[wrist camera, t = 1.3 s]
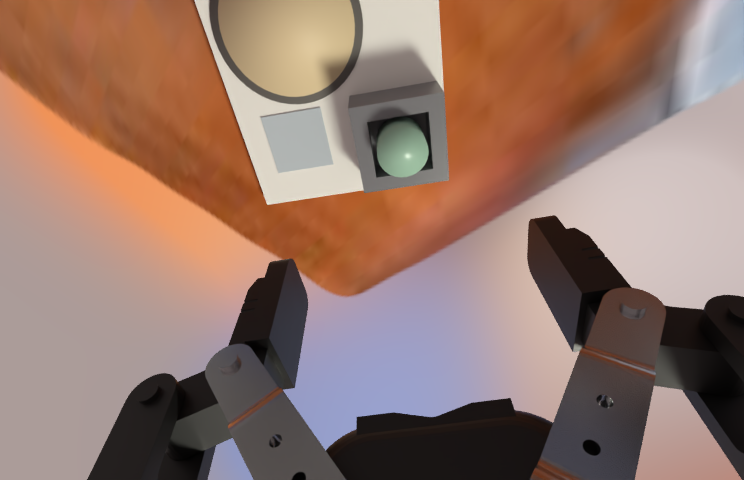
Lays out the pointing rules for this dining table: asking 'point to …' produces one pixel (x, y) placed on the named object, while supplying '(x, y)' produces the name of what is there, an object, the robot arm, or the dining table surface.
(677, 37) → the dining table surface
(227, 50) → the picture board
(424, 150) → the button
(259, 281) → the robot arm
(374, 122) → the button housing
